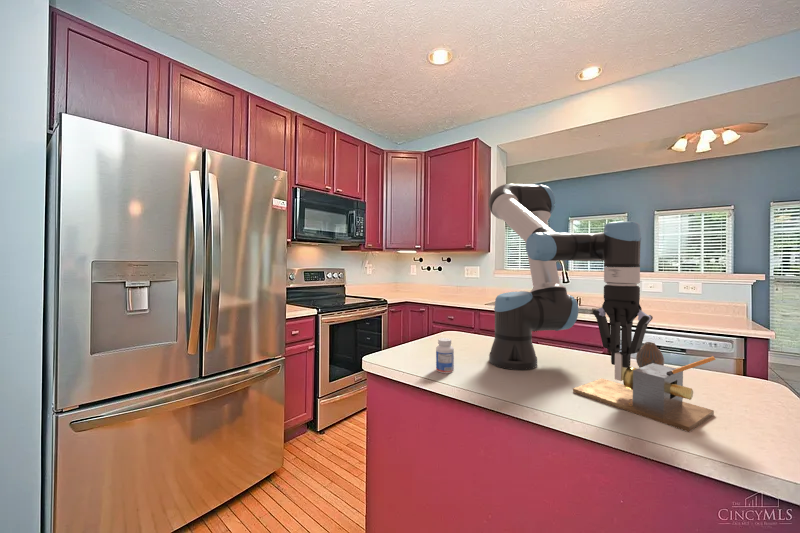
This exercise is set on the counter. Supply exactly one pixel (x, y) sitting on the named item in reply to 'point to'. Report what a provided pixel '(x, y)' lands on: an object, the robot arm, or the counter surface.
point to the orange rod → (693, 364)
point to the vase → (649, 355)
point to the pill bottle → (444, 356)
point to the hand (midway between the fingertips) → (620, 379)
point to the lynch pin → (674, 388)
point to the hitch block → (649, 397)
